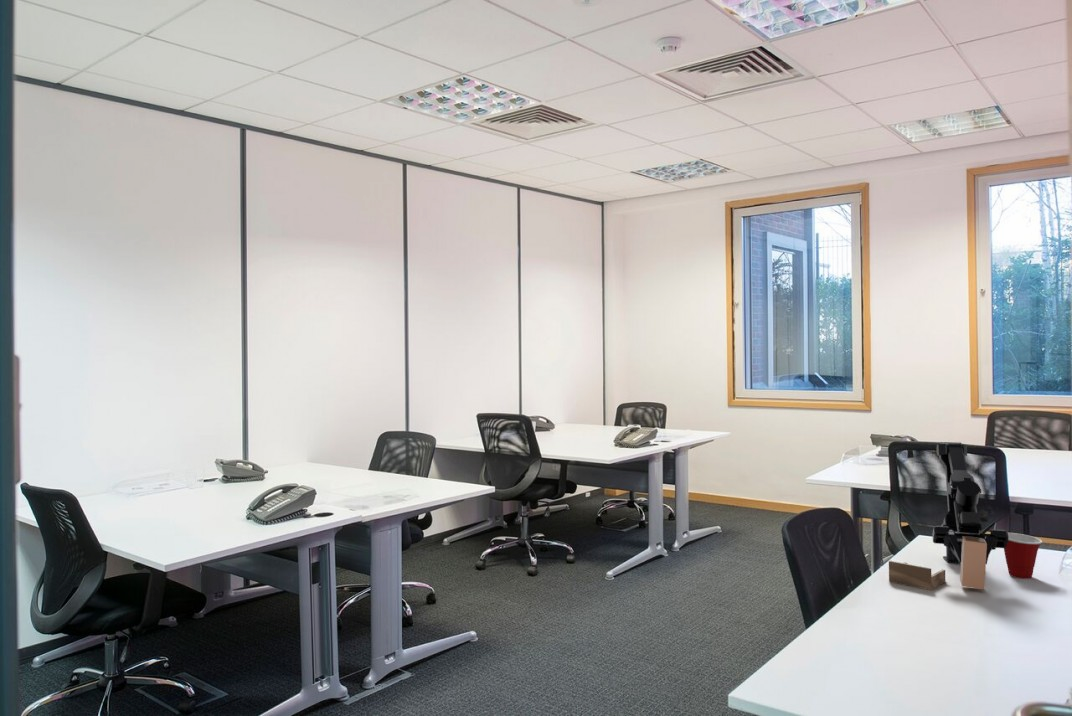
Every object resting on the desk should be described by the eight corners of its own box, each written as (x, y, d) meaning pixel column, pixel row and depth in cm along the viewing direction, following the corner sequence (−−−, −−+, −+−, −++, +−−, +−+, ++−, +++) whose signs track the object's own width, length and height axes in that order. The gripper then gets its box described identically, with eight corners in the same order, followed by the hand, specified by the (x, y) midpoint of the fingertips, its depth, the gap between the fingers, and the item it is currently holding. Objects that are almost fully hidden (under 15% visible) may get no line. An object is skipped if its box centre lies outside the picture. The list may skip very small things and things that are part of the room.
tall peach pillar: (960, 580, 217) (962, 535, 217) (981, 583, 215) (984, 537, 214) (962, 586, 212) (964, 540, 212) (984, 589, 210) (986, 542, 209)
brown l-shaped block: (904, 573, 229) (904, 554, 229) (945, 581, 221) (945, 561, 221) (889, 581, 222) (888, 561, 222) (930, 590, 213) (930, 569, 213)
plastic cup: (1041, 583, 218) (1041, 542, 218) (998, 577, 224) (997, 537, 224) (1044, 574, 226) (1043, 535, 226) (1002, 569, 233) (1001, 530, 233)
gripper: (933, 498, 220) (938, 544, 210) (1006, 502, 213) (1015, 550, 203) (930, 519, 228) (935, 565, 218) (1001, 523, 221) (1010, 571, 211)
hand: (973, 562), depth 212 cm, fingers closed on tall peach pillar, 6 cm apart
